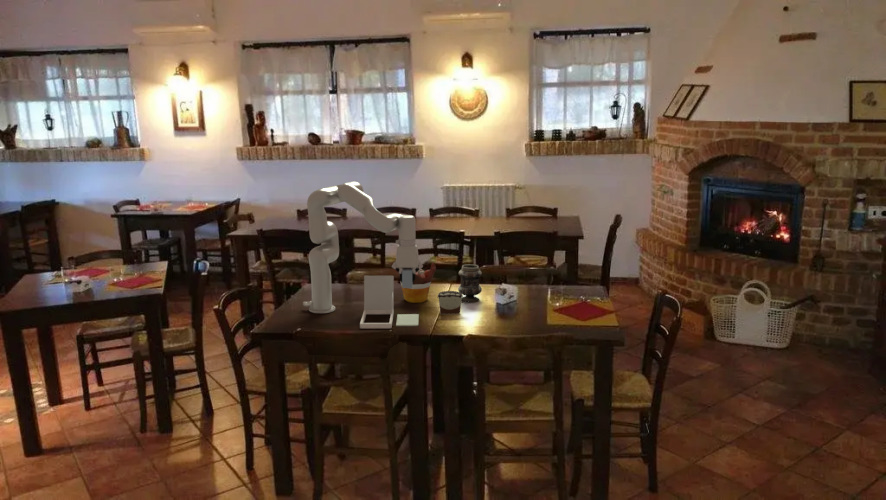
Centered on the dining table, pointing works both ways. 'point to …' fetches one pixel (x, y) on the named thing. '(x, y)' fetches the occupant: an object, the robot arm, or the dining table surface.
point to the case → (378, 299)
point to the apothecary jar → (470, 283)
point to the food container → (450, 302)
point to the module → (407, 277)
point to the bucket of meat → (419, 286)
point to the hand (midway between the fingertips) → (407, 281)
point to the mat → (407, 320)
